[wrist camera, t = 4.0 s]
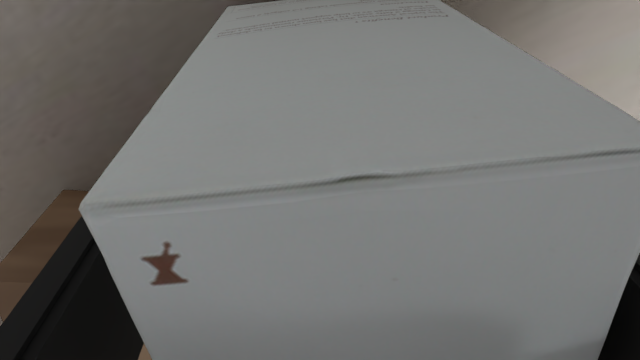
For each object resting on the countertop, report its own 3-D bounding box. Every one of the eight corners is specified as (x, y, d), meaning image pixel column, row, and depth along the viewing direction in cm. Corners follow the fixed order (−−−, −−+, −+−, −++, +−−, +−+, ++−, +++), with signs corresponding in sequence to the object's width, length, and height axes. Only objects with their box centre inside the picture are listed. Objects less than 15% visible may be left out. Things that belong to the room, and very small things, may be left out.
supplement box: (256, 175, 19) (200, 498, 9) (223, 1, 15) (47, 198, 5) (419, 161, 19) (565, 469, 9) (427, -18, 15) (715, 139, 5)
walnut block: (66, 186, 20) (-16, 281, 15) (366, 200, 21) (387, 293, 16) (117, 371, 27) (74, 478, 22) (337, 375, 28) (344, 477, 23)
